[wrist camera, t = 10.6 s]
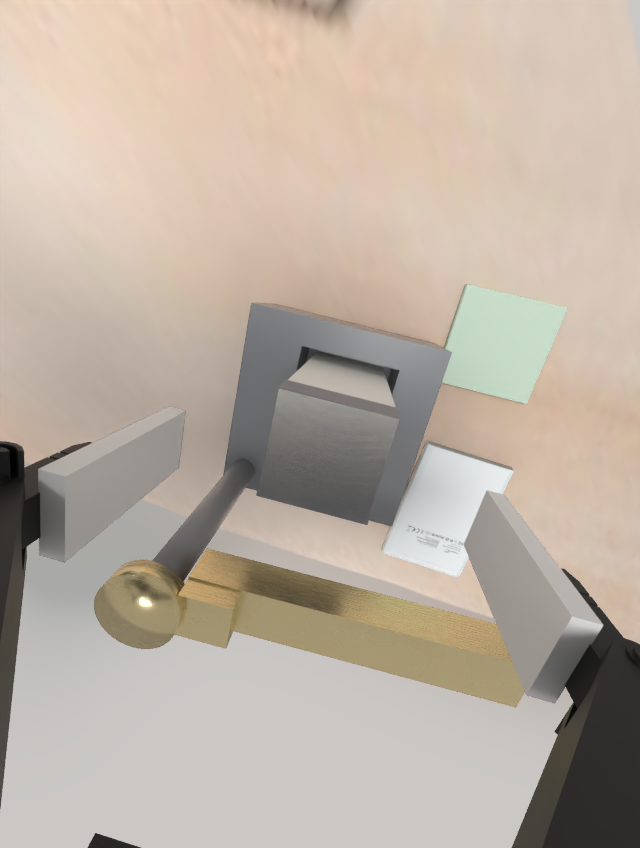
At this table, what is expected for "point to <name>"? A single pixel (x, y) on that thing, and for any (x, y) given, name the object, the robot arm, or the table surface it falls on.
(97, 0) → the table surface
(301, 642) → the clip
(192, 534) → the socket block
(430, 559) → the external hard drive
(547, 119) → the table surface
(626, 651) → the robot arm
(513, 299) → the pad
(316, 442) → the plug
